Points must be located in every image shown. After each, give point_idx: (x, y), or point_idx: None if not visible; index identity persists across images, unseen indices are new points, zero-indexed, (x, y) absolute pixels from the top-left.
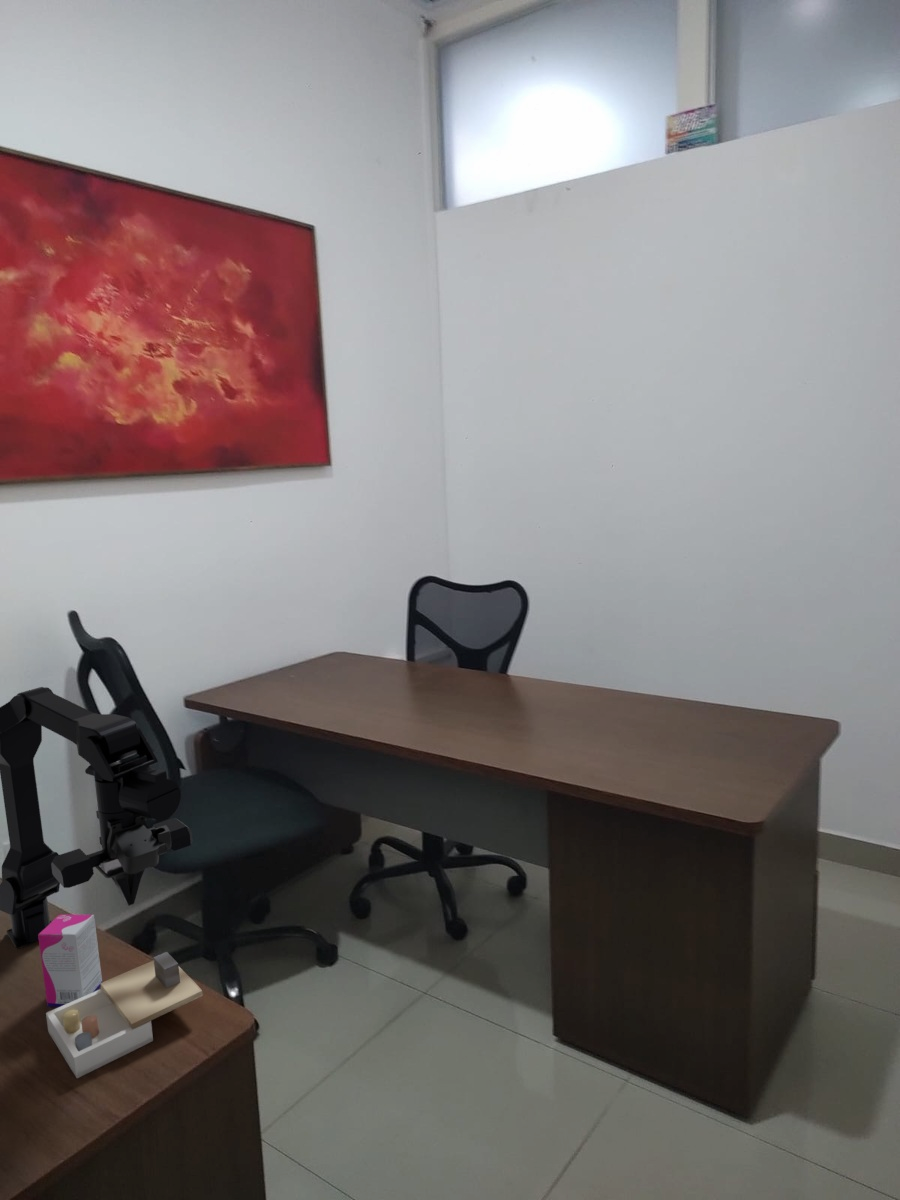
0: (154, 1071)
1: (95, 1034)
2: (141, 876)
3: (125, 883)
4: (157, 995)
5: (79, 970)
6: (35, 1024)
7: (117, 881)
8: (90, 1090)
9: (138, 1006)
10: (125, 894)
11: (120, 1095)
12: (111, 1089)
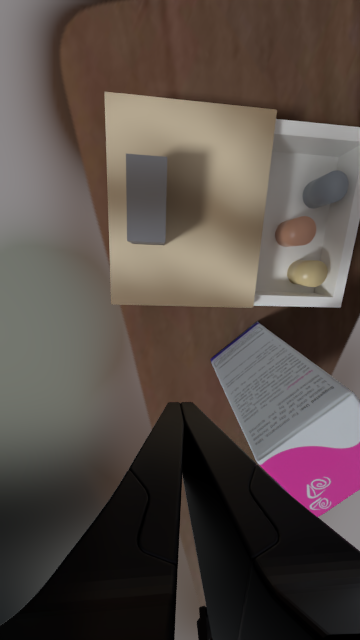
0: (256, 45)
1: (287, 220)
2: (100, 518)
3: (244, 499)
4: (191, 168)
5: (288, 346)
6: (318, 333)
7: (343, 544)
8: (346, 98)
9: (238, 163)
10: (220, 436)
11: (324, 34)
12: (325, 67)
